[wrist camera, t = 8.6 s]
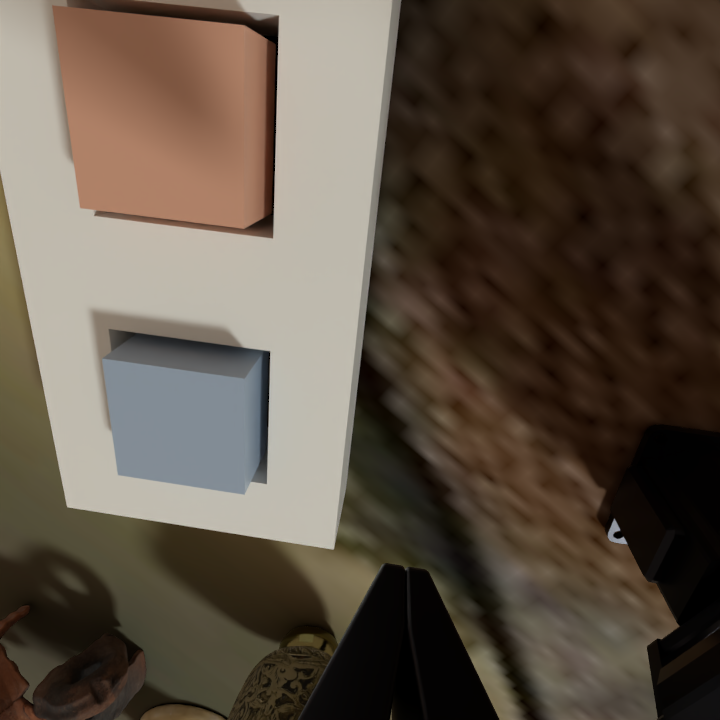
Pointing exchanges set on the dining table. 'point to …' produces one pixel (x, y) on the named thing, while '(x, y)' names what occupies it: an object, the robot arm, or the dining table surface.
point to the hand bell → (179, 713)
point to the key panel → (210, 261)
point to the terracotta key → (168, 115)
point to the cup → (285, 677)
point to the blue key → (187, 411)
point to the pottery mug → (73, 682)
